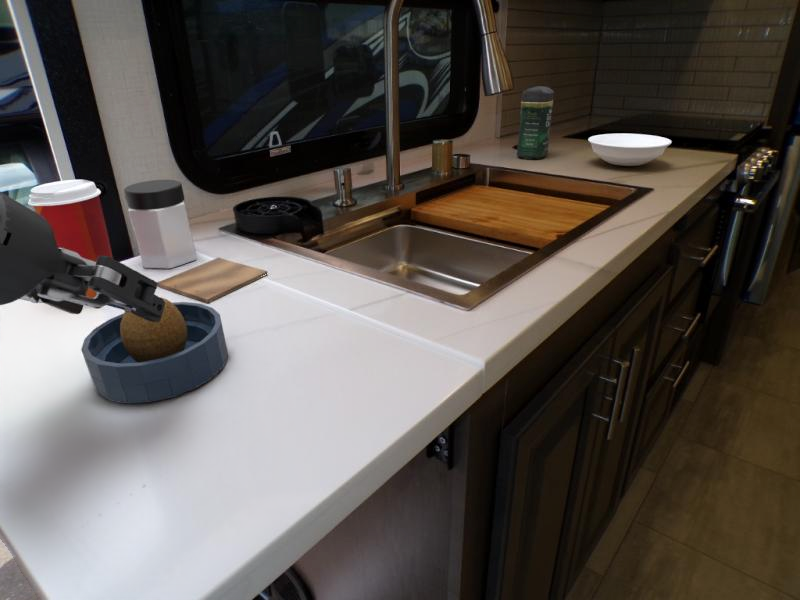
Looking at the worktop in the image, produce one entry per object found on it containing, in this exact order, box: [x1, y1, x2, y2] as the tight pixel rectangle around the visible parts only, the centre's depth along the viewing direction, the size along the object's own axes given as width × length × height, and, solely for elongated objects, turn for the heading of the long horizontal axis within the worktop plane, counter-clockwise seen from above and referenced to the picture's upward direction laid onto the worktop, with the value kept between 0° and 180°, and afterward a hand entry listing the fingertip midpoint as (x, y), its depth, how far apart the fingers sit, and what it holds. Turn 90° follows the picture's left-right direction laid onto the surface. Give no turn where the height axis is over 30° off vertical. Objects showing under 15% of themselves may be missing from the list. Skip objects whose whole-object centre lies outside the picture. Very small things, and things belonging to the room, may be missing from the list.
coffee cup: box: [27, 179, 114, 298], centre depth 71 cm, size 8×8×15 cm
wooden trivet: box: [156, 257, 269, 304], centre depth 76 cm, size 11×11×1 cm
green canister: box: [516, 85, 555, 160], centre depth 145 cm, size 10×8×19 cm
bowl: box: [587, 133, 673, 167], centre depth 135 cm, size 20×20×6 cm
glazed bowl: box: [80, 301, 229, 404], centre depth 55 cm, size 13×13×4 cm
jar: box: [123, 179, 197, 270], centre depth 82 cm, size 9×8×12 cm
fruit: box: [120, 296, 187, 363], centre depth 54 cm, size 6×6×8 cm
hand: (119, 307), depth 49 cm, fingers open, 8 cm apart
